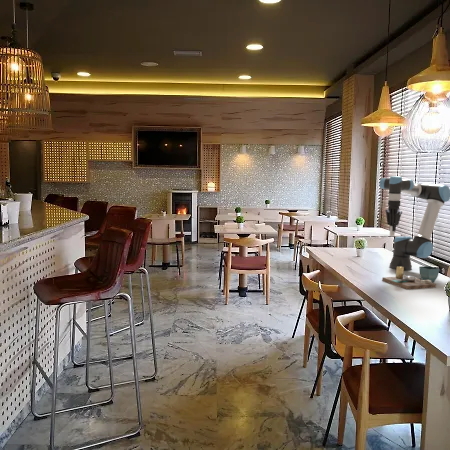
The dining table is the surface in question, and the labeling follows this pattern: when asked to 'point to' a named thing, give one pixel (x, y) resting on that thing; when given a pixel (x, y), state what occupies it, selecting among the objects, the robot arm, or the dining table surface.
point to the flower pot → (429, 273)
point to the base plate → (410, 283)
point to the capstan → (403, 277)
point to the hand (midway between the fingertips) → (392, 235)
